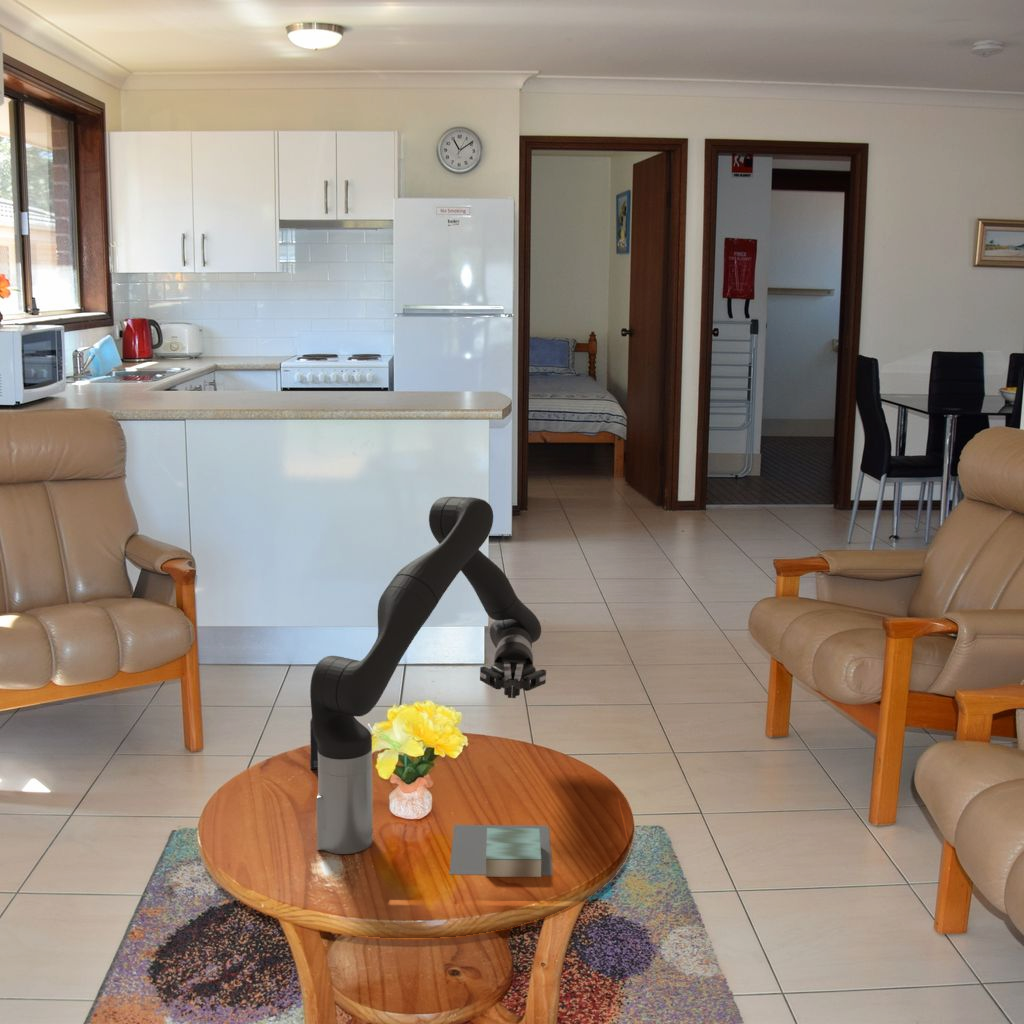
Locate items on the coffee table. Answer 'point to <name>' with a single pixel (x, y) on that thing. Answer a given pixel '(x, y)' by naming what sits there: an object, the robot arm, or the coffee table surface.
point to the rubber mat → (472, 849)
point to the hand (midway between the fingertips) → (512, 693)
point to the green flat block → (513, 852)
